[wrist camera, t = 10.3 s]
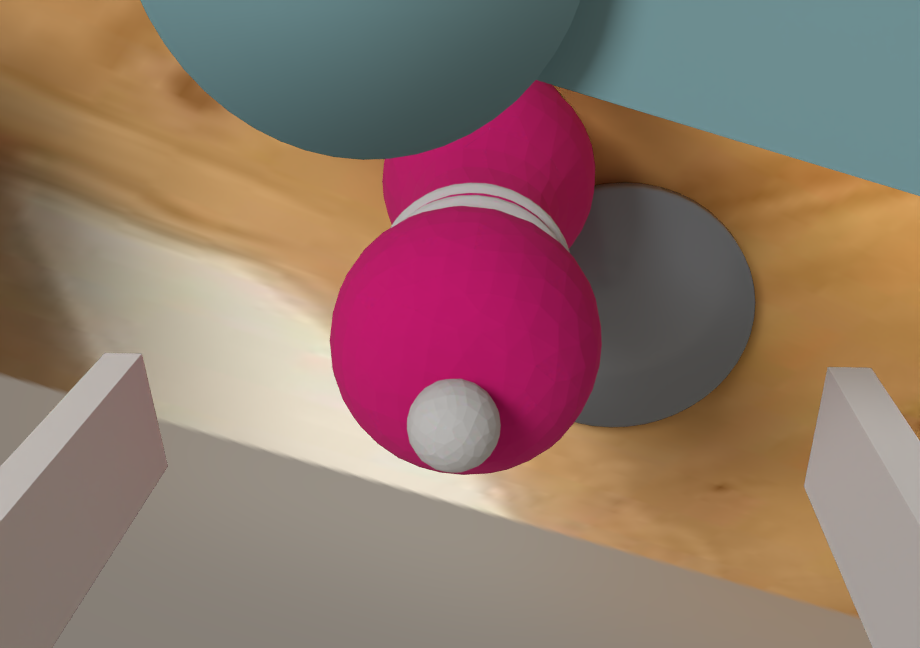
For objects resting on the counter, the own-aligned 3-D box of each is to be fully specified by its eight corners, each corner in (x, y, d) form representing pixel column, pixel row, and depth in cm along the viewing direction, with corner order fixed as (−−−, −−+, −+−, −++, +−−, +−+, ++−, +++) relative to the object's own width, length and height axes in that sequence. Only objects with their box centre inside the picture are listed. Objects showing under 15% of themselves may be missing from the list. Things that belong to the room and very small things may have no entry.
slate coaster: (486, 414, 39) (486, 424, 38) (483, 182, 34) (482, 189, 33) (733, 419, 38) (737, 429, 37) (768, 181, 33) (773, 188, 32)
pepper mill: (612, 72, 31) (715, 327, 14) (558, 248, 35) (586, 633, 17) (421, 25, 31) (276, 223, 13) (386, 206, 34) (233, 555, 17)
